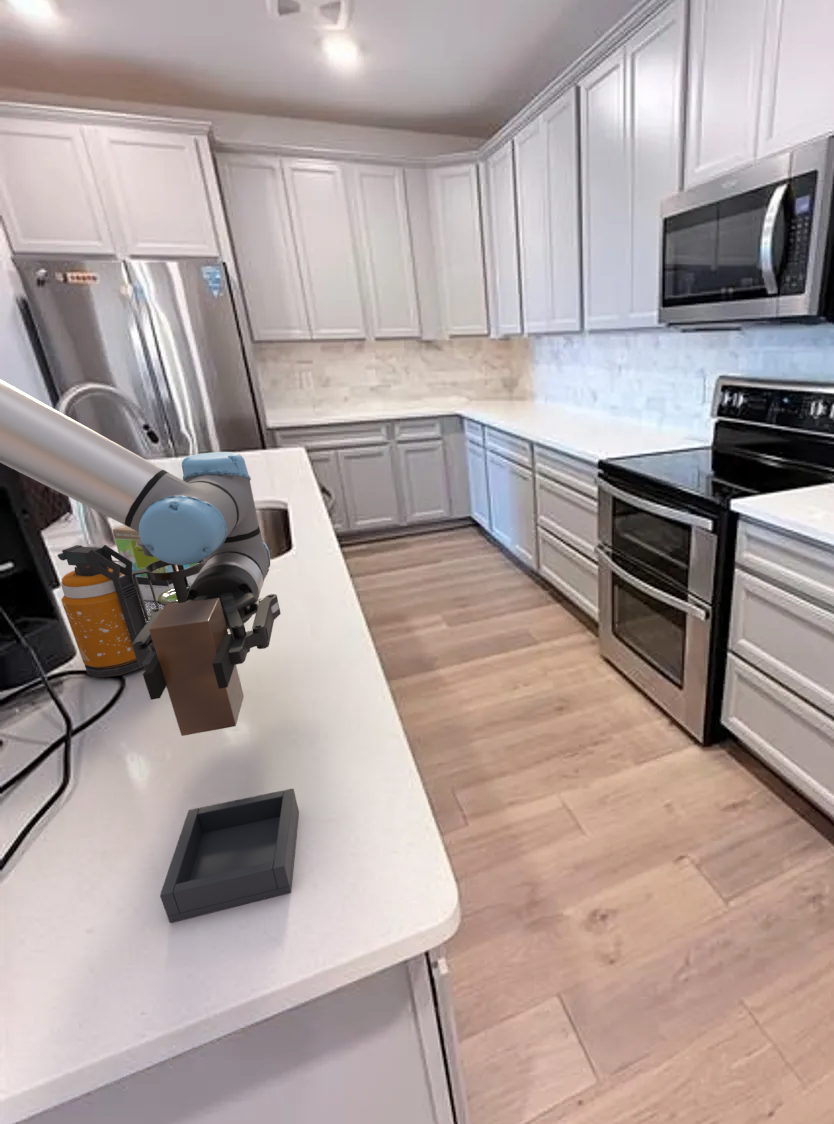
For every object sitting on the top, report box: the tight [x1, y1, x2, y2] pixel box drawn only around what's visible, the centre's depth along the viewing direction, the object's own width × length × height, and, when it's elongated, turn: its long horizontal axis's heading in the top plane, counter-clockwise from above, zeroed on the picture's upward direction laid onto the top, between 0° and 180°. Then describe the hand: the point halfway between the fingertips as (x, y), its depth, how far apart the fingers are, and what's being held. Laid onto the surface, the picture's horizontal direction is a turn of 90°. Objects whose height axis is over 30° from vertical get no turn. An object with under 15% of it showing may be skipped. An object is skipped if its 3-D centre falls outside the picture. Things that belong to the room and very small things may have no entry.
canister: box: [57, 544, 147, 678], centre depth 93 cm, size 9×11×20 cm
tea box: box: [112, 524, 200, 602], centre depth 125 cm, size 15×10×15 cm, turn 170°
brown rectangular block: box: [149, 598, 245, 737], centre depth 63 cm, size 5×6×12 cm
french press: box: [132, 539, 205, 622], centre depth 106 cm, size 12×9×23 cm
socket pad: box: [159, 788, 300, 923], centre depth 60 cm, size 10×11×3 cm
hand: (186, 680), depth 58 cm, fingers closed on brown rectangular block, 5 cm apart
